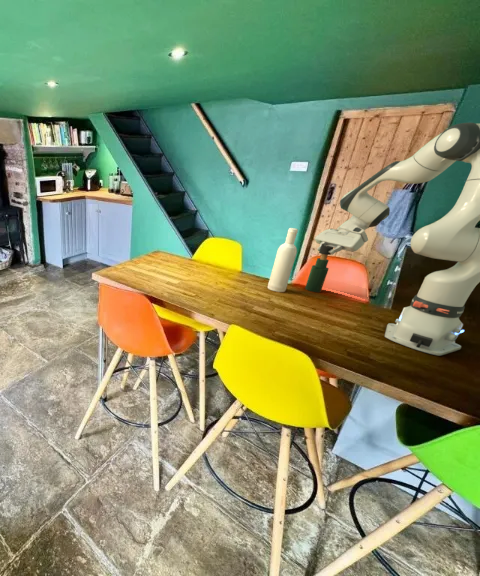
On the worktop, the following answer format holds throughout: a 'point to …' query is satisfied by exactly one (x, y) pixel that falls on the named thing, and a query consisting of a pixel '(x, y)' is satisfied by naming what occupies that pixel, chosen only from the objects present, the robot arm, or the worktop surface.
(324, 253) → the stopper
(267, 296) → the worktop surface
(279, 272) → the bottle
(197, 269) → the worktop surface
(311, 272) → the bottle
